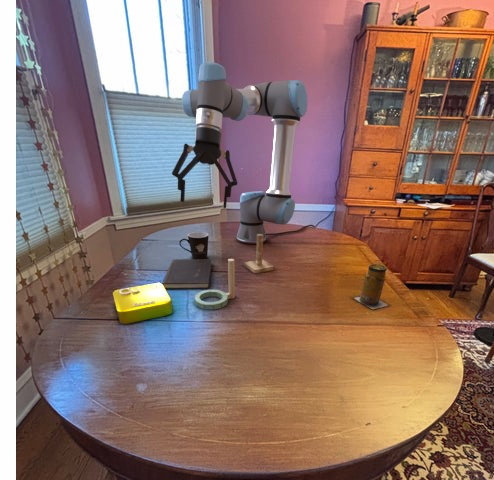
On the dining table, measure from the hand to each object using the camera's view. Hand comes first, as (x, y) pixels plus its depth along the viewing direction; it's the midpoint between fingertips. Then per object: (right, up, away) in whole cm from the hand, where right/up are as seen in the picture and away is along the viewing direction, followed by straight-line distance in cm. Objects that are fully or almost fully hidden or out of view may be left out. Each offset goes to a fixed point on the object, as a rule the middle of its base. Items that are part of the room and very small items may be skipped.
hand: (203, 205), depth 96 cm
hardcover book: (-8, -21, +17) cm, 28 cm away
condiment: (+55, -31, +2) cm, 63 cm away
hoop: (+4, -31, 0) cm, 31 cm away
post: (+18, -16, +25) cm, 35 cm away
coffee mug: (-9, -10, +34) cm, 36 cm away
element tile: (-17, -34, -5) cm, 38 cm away
